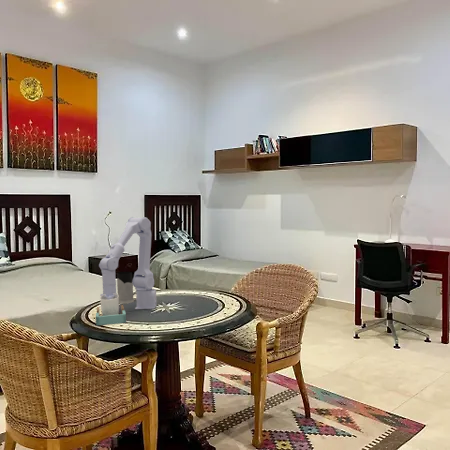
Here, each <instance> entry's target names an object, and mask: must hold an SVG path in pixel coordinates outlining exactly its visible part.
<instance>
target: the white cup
mask: <svg viewBox="0 0 450 450" xmlns="http://www.w3.org/2000/svg"><path fill="white" fill-rule="evenodd" d="M104 295H106V294H104ZM104 295H102V296H99V301H100V308H101V309H100V310H101V314H102V315H101V316H108V315H118V314H119V313H120V312H119V311H120V303H119V295H118V293H117V294H114V293H113V295H115V297H113V298H112V300H107V298H105V297H104Z"/></svg>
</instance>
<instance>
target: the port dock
mask: <svg viewBox="0 0 450 450" xmlns="http://www.w3.org/2000/svg"><path fill="white" fill-rule="evenodd" d="M123 323H125V324H126V323H127V313H126V310H125V309H124V310H122V312H121V313H120V314H118V315H108V316H103V315H100V312H99V313H97V312H95V326H96V325H97V326H104V325H115V324H123Z"/></svg>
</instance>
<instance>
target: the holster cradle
mask: <svg viewBox="0 0 450 450" xmlns="http://www.w3.org/2000/svg"><path fill="white" fill-rule="evenodd" d="M120 310H121V311H120V312H121V313H122V310H125V307H124V304H120ZM96 313H99V314H100V306H96Z"/></svg>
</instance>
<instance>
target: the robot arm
mask: <svg viewBox="0 0 450 450" xmlns="http://www.w3.org/2000/svg"><path fill="white" fill-rule="evenodd" d="M151 224H152V222H151V221H150V219H148V217H145V216H142V217H141V216H140V217H137V216H136V217H134V216H131V217H129V218H128V220H127V222H126V223H125V228H124V229H123V232H122V234H121V235H120V237H119V239H118V240H117V242H116V243H113V244H111V246H110V249H109V251H108V252H107V254H106V255H105V257H103V258H102V259H101V260H100V262H99V264H98V267H99V268H100V270H101V275H102V277H101V278H102V293H100V296H99V297H101V296H102V295H104V294H106V295H104V297H105V298H107V300H112V298H113V297H115V295H113V293H114V294H118V292H117V278H116V277H117V275H116V269H117V268H119V260H120V258H121V257H122V255H123V253H125V246H126V245H127V243H128V242H129V240H130V239H131V238H132V236H133V235H134V234H137V236H139V244H138V245H139V246H138V262H137V263H138V265H137V266H138V267H137V270H136V271H134V274H133V277H132V282H133V288H134V289H135V291H136V293H135V294H136V295H135V296H136V306H135V307H134V310H152V309H156V307H157V289H155V288H154V286H155V279H154V273H153V271H152V270H151V268H150V267H151V253H152V252H151V248H152V230H151Z"/></svg>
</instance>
